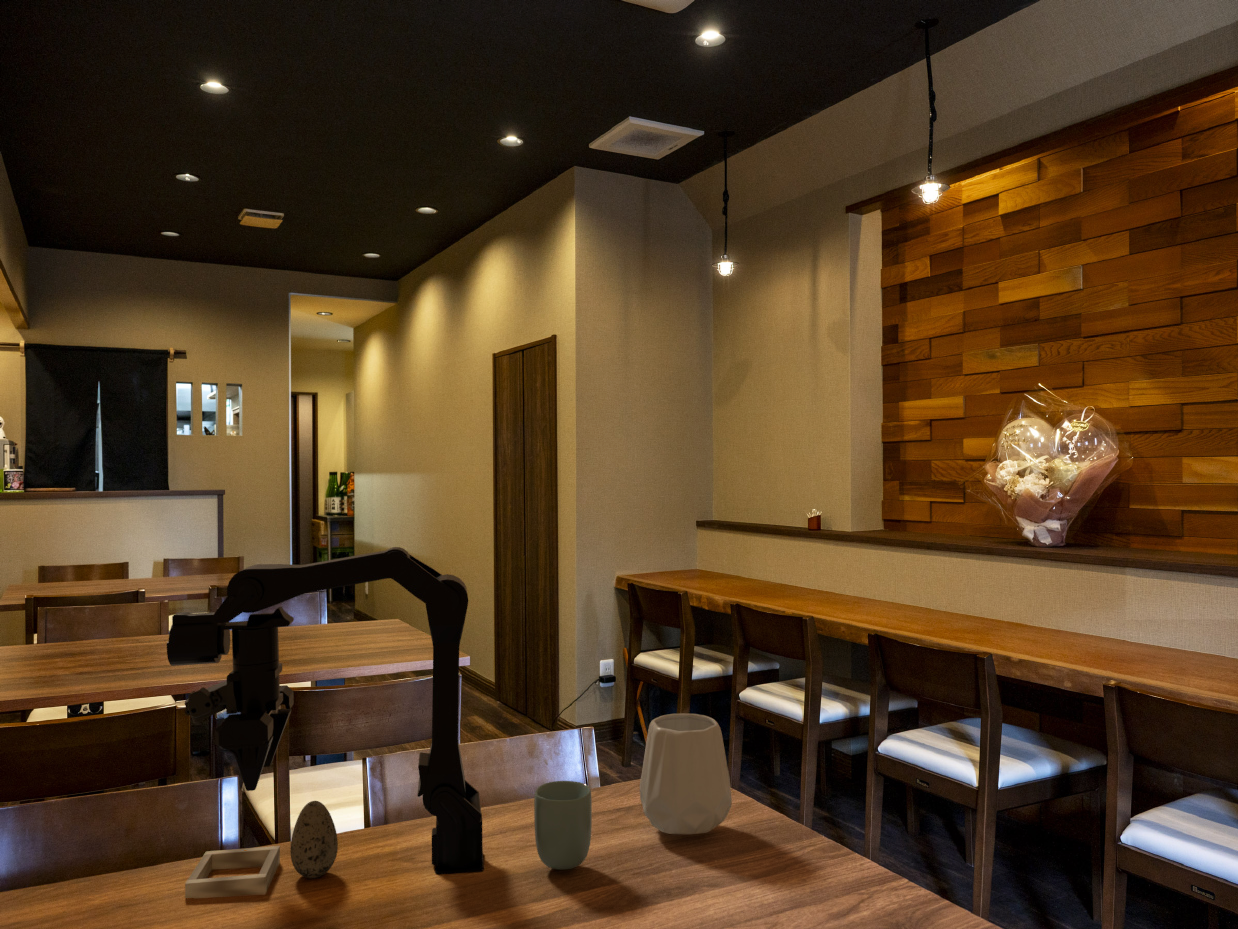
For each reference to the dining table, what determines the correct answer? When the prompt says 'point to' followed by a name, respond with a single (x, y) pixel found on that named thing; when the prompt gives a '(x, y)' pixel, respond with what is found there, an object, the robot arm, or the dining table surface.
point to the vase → (685, 775)
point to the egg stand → (233, 885)
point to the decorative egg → (314, 841)
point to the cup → (563, 823)
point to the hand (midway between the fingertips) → (258, 778)
